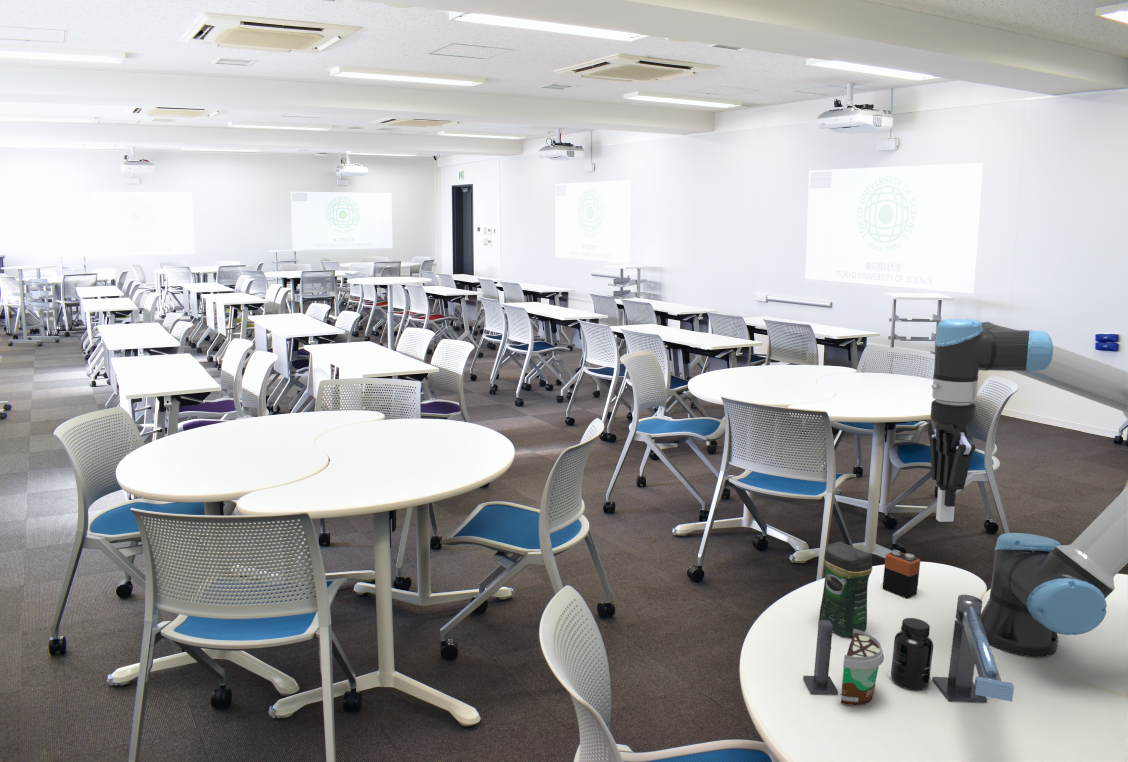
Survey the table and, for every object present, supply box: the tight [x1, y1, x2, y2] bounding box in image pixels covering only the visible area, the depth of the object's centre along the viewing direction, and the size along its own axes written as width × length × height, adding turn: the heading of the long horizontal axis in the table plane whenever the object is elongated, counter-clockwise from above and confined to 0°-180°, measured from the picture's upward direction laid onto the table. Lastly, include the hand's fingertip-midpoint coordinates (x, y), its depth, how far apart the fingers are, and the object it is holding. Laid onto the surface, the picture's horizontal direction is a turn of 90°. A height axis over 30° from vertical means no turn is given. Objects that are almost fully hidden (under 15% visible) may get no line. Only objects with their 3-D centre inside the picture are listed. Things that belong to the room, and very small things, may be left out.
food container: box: [840, 629, 885, 706], centre depth 145 cm, size 12×6×10 cm, turn 153°
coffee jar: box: [818, 541, 873, 637], centre depth 170 cm, size 10×8×19 cm
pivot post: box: [931, 619, 988, 704], centre depth 147 cm, size 7×7×14 cm
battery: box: [882, 549, 921, 599], centre depth 190 cm, size 4×7×10 cm, turn 36°
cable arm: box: [955, 594, 1015, 702], centre depth 133 cm, size 30×5×4 cm, turn 160°
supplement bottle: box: [890, 617, 934, 691], centre depth 150 cm, size 7×7×12 cm
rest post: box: [802, 619, 839, 696], centre depth 147 cm, size 5×5×13 cm
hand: (944, 520), depth 153 cm, fingers closed
